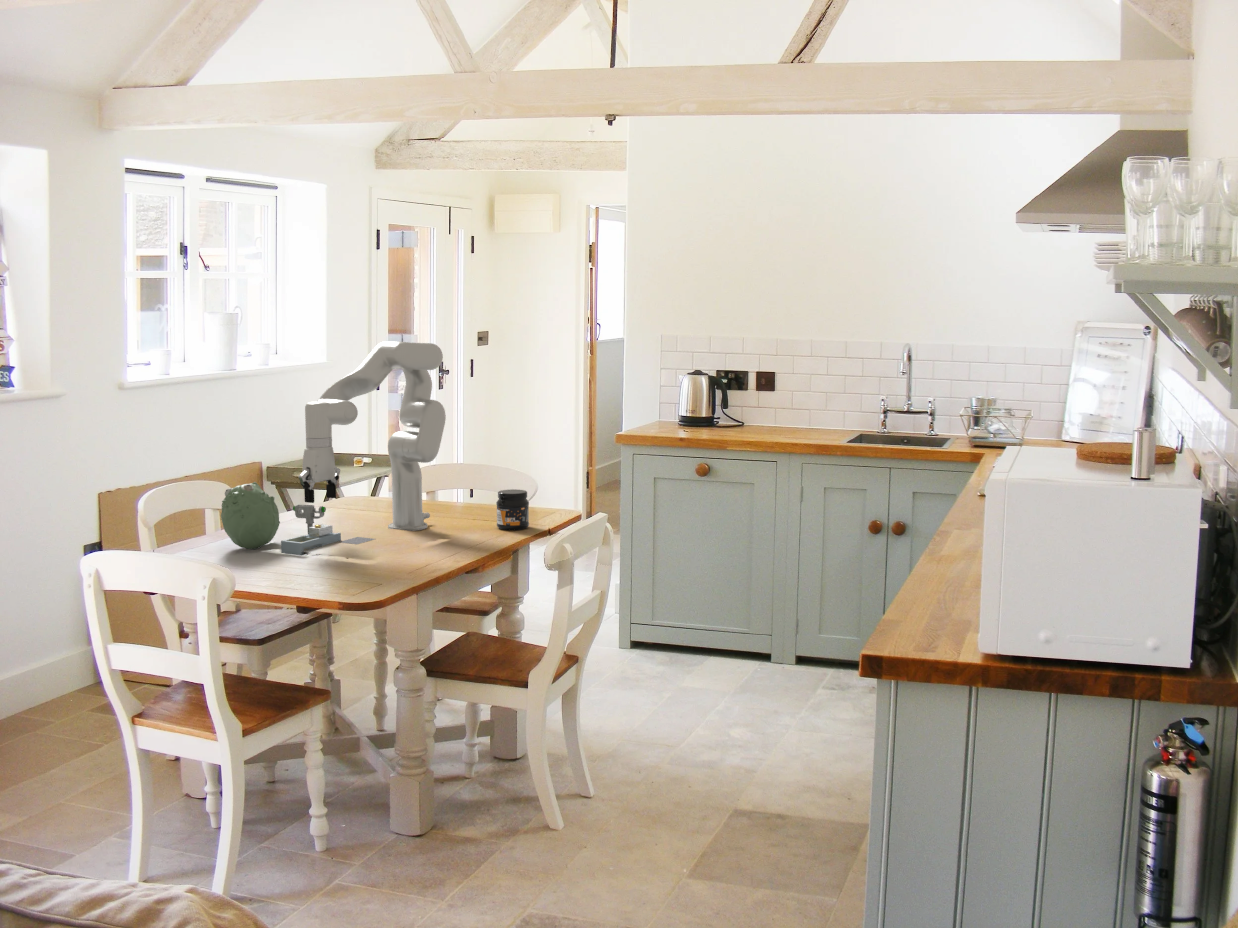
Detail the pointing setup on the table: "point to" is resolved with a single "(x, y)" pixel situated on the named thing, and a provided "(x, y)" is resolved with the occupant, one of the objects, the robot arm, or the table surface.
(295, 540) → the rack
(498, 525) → the supplement container
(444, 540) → the table surface
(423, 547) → the table surface
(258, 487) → the green rounded lump
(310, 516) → the mechanical component
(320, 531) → the grey small block
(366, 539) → the flat grey plate
